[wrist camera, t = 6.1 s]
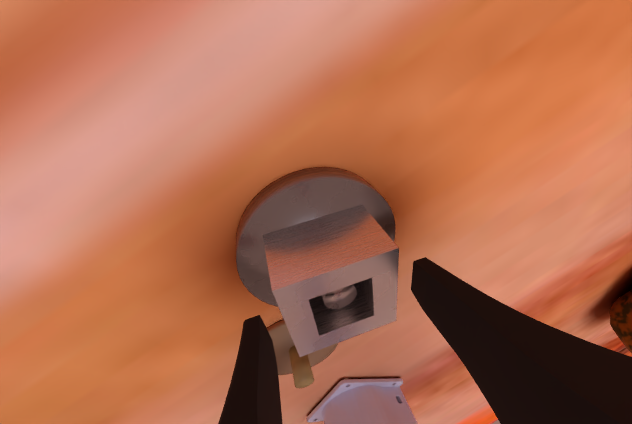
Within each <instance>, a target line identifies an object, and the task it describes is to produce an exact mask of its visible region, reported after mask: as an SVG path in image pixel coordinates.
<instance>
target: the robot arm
mask: <svg viewBox="0 0 632 424" xmlns="http://www.w3.org/2000/svg"><path fill="white" fill-rule="evenodd" d="M411 290H412V292H413V294H414V296H415V297H416V299H417V301H418V302H419V304H420V306H421V307H422V309H423V310H424V312H425V313H426V314H427V316H428V317H429V318H430V320H431V321H432V322H433V324H434V325H435V326H436V328H437V329H438V330H439V332H440V333H441V334H442V335H443V337H444V338H445V339H446V341H447V342H448V343H449V345H450V346H451V347H452V349H453V350H454V351H455V352H456V354H457V355H458V357H459V358H460V359H461V361H462V362H463V364H464V365H465V366H466V368H467V370H468V371H469V373H470V374H471V376H472V377H473V379H474V381H475V382H476V384H477V385H478V387H479V388H480V390H481V392H482V393H483V395H484V397H485V398H486V400H487V401H488V403H489V405H490V406H491V408H492V410H493V411H494V413H495V415H496V416H497V418H498V420H499V421H500V423H501V424H632V357H630V356H627V355H624V354H621V353H618V352H615V351H612V350H610V349H607V348H604V347H601V346H599V345H596V344H593V343H591V342H588V341H585V340H583V339H580V338H578V337H575V336H573V335H571V334H568V333H566V332H563V331H561V330H558V329H556V328H553V327H551V326H549V325H546V324H544V323H542V322H540V321H537V320H535V319H533V318H531V317H529V316H527V315H525V314H523V313H521V312H518V311H516V310H514V309H512V308H510V307H509V306H507V305H505V304H503V303H501V302H499V301H497V300H495V299H494V298H492V297H490V296H488V295H486V294H485V293H483V292H481V291H479V290H478V289H476V288H474V287H472V286H471V285H469V284H467V283H466V282H464V281H462V280H461V279H459V278H458V277H456V276H454V275H453V274H451V273H449V272H448V271H446V270H445V269H443V268H442V267H440V266H438V265H437V264H435V263H434V262H432V261H431V260H429V259H427V258H426V257H425V258H422V259H419V260H416V261H413V272H412V284H411ZM402 384H403V380H402V379H401V378H392V379H345V380H341V381H340V382H339V383H338V384H337V385H336V386H335V387H334V388H333V389H332V391H331V392H330V393H329V394H328V395H327V396H326V397H325V398H324V399H323V400H322V401H321V402H320V404H319V405H318V406H317V407H316V408H315V409H314V410H313V411H312V412H311V413H310V414H309V415H308V417H307V422H318V421H324V423H325V424H418V423H417V421H416V419H415V417H414V415H413V413H412V411H411V409H410V407H409V405H408V403H407V401H406V399H405V397H404V395H403V393H402V391H401V389H400V387H399V386H401V385H402ZM218 424H282V414H281V403H280V391H279V380H278V369H277V362H276V356H275V351H274V346H273V340H272V338H271V336H270V334H269V332H268V330H267V328H266V326H265V324H264V322H263V321H262V319H261V317H260V315H258V316H255V317H252V318H249V319H247V320H245V321H244V323H243V330H242V336H241V341H240V346H239V351H238V356H237V360H236V364H235V368H234V372H233V376H232V380H231V384H230V387H229V391H228V394H227V397H226V401H225V404H224V407H223V411H222V414H221V417H220V420H219V423H218Z"/></svg>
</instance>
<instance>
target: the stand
mask: <svg viewBox="0 0 632 424" xmlns="http://www.w3.org/2000/svg"><path fill="white" fill-rule="evenodd" d="M267 330H268V332H269V334H270V336H271V338H272V340H273V346H274V351H275V356H276V362H277V369H278V375H285V374H292V373H293V377H294V383H295V387H296V388H304V387H307V386H309V385H311V384H312V383H313V381H314V378H313V374H312V370H311V367H312V366H314V365H316V364H318V363H319V362H321V361H323V360H324V359H325V358H327V357H328V356H329V355H330V354H331V353H332V352H333V351H334V349H335V348H336V346H337V345H338V343H336V344H333V345H331V346H328V347H325V348H323V349H320V350H318V351H315V352H312V353H310V354H307V355H304V356H302V357H300V356H299V354H298V352H297V349H296V347H295V344H294V342H293V340H292V337H291V335H290V333H289V330H288V328H287V326H286V323H285V321H284V320H281V321H279V322H277V323H275V324H273V325H271V326H270V327H268V328H267Z"/></svg>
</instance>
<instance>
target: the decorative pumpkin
mask: <svg viewBox="0 0 632 424" xmlns="http://www.w3.org/2000/svg"><path fill="white" fill-rule="evenodd" d="M609 313H610V325H611V326H612V328H613V330H614V331H615V333H616V334H617V335H618V337H619V338H620V340H621V341H622V342H623V344H624V345H625V346H626V347H627V349H628V350H629V351H630V352H631V353H632V290H631V291H629V292H627V293H626V294H624V295H623V296H621V297H620V298H618V299H617V300H616V301H615V302H614V303H613V305H612V307H611V309H610V312H609Z"/></svg>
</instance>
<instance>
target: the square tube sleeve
mask: <svg viewBox="0 0 632 424" xmlns="http://www.w3.org/2000/svg"><path fill="white" fill-rule="evenodd" d="M263 241H264V247H265V253H266V259H267V265H268V271H269V277H270V282H271V288H272V292H273V295H274V297H275V299H276V302H277V304H278V307H279V309H280V311H281V314H282V316H283V318H284V321H285V323H286V326H287V328H288V330H289V333H290V335H291V337H292V340H293V342H294V344H295V347H296V349H297V352H298V354H299V356H300V357H302V356H304V355H307V354H310V353H312V352H315V351H318V350H320V349H323V348H325V347H328V346H331V345H333V344H336V343H339V342H341V341H344V340H347V339H349V338H352V337H354V336H357V335H360V334H362V333H365V332H368V331H370V330H373V329H375V328H378V327H381V326H383V325H386V324H389V323H391V322H394V321H396V313H397V285H398V257H399V248H398V246H397V245H396V244H395V243H394V242H393V240H392V239H391V238H390V237H389V236H388V235H387V233H386V232H385V231H384V230H383V229H382V227H381V226H380V225H379V224H378V223H377V222H376V220H375V219H374V218H373V217H372V216H371V214H370V213H369V212H368V211H367V210H366V208H365V207H364V206H363V205H362V204H361V205H358V206H355V207H352V208H348V209H345V210H342V211H338V212H335V213H332V214H329V215H325V216H322V217H319V218H316V219H312V220H309V221H306V222H303V223H299V224H296V225H293V226H289V227H286V228H283V229H280V230H276V231H273V232H270V233H267V234H263ZM352 284H354V286H355V288H356V290H357V295H356V297H355V299H354V300H353V301H352V302H351V303H350V304H348V305H347V306H345V307H342V308H339V309H330V308H328V307H326V306H325V304H324V301H323V299H322V296H321V295H323V294H326V293H329V292H332V291H335V290H338V289H340V288H343V287H346V286H349V285H352Z"/></svg>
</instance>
